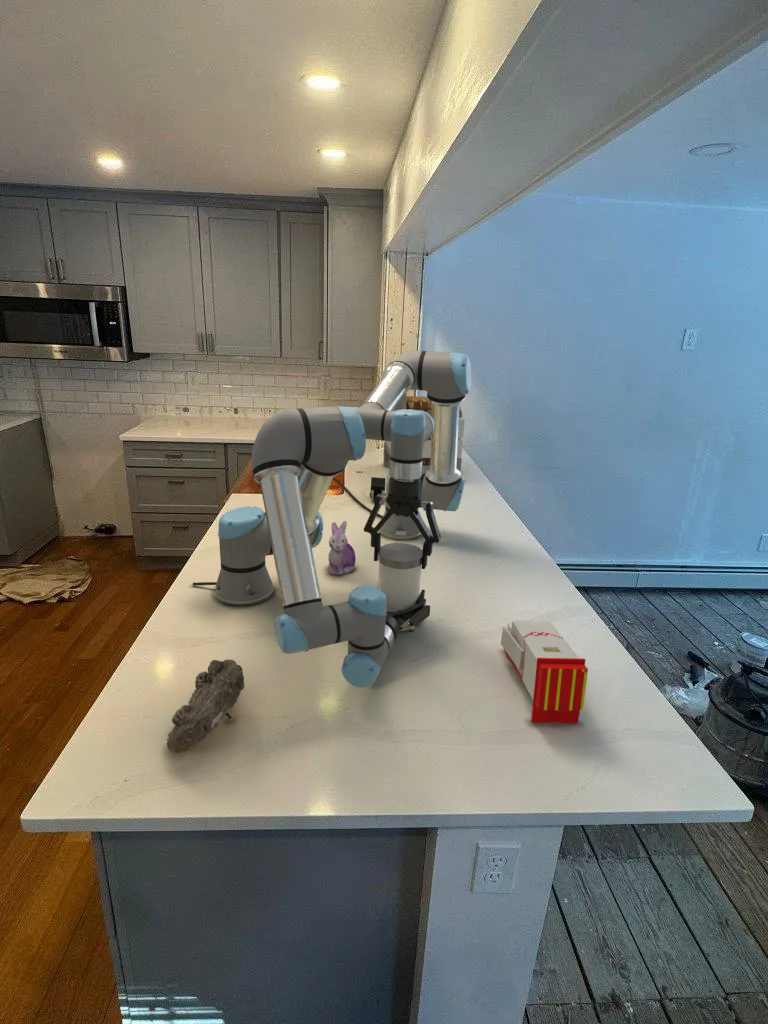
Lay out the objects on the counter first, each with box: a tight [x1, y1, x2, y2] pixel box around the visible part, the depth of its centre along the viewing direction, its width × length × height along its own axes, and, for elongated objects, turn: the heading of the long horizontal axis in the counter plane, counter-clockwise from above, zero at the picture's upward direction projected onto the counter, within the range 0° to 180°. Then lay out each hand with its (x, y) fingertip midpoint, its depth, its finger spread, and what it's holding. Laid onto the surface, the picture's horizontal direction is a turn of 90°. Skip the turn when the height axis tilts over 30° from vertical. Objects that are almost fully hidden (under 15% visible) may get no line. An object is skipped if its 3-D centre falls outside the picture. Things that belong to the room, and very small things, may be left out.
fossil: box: [166, 658, 245, 754], centre depth 106 cm, size 22×10×15 cm
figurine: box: [327, 520, 357, 576], centre depth 168 cm, size 9×10×15 cm
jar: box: [377, 561, 422, 632], centre depth 141 cm, size 10×10×19 cm
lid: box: [377, 542, 423, 569], centre depth 138 cm, size 11×11×2 cm
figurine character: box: [369, 476, 386, 503], centre depth 234 cm, size 7×8×15 cm
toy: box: [500, 620, 589, 724], centre depth 121 cm, size 12×13×30 cm
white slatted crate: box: [383, 392, 465, 475], centre depth 268 cm, size 34×33×41 cm
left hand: (402, 590), depth 146 cm, fingers closed on jar, 10 cm apart
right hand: (400, 563), depth 139 cm, fingers closed on lid, 11 cm apart
